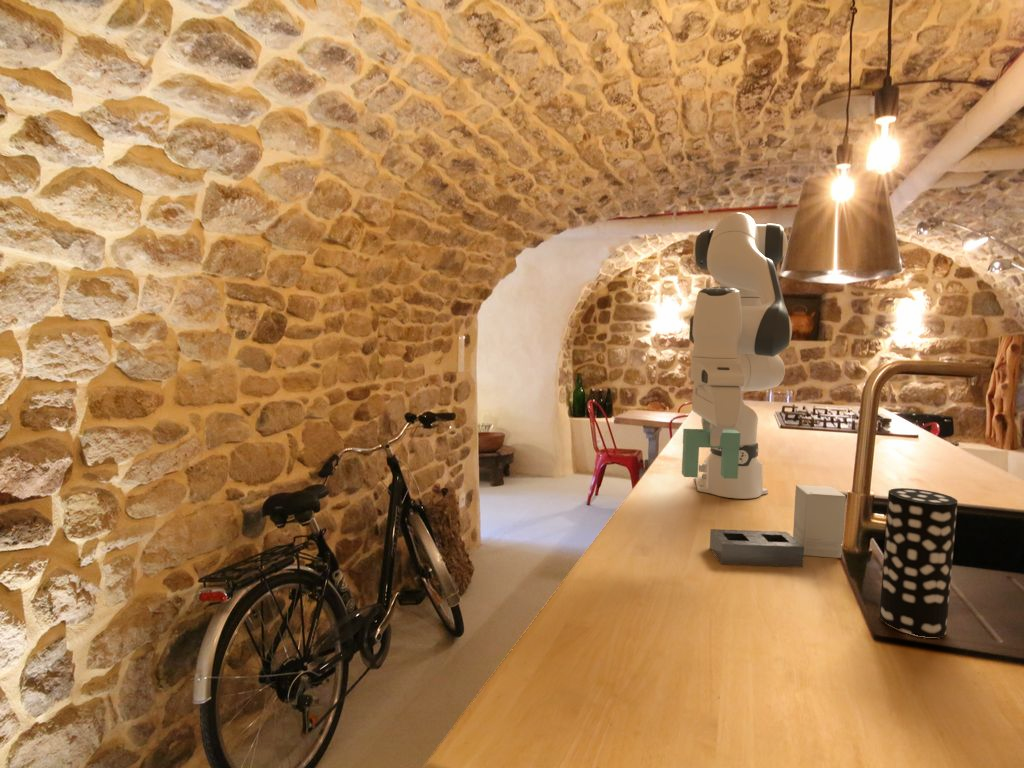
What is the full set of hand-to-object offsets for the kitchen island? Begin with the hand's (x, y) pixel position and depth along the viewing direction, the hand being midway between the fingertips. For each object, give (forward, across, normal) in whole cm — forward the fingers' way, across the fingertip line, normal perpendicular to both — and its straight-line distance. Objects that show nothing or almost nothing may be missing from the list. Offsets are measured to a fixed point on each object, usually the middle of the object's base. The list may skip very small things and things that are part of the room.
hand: (711, 442), depth 109 cm
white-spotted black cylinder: (+22, +24, +25) cm, 41 cm away
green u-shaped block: (+7, 0, 0) cm, 7 cm away
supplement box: (+23, -5, +23) cm, 33 cm away
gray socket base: (+22, +1, +9) cm, 24 cm away
